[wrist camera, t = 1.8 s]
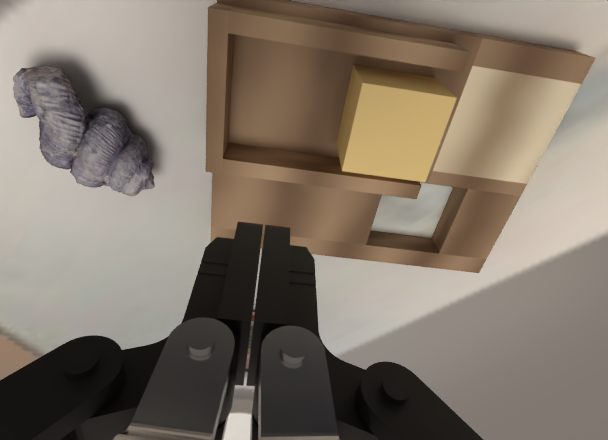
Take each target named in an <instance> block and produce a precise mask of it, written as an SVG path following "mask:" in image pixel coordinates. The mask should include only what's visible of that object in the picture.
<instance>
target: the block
mask: <svg viewBox="0 0 608 440" xmlns="http://www.w3.org/2000/svg"><path fill="white" fill-rule="evenodd" d="M456 99H457V97H455V96H454V95H453V94H452V93H451V92H450V91H449V90H448V89H447V88H445V87H444V86H443V85H442V84H441V83H440V82H439V81H438V80H436V79H435V78H433V77H427V76H421V75H415V74H408V73H402V72H396V71H390V70H384V69H378V68H372V67H365V66H359V65H353V68H352V73H351V78H350V82H349V87H348V92H347V96H346V101H345V105H344V110H343V115H342V119H341V124H340V129H339V133H338V138H337V143H336V144H337V149H338V154H339V159H340V164H341V169H342V171H345V172H352V173H360V174H367V175H374V176H382V177H389V178H396V179H404V180H411V181H419V182H426V179H427V177H428V174H429V171H430V169H431V166H432V163H433V161H434V158H435V155H436V153H437V150H438V147H439V145H440V142H441V139H442V137H443V134H444V131H445V129H446V126H447V123H448V121H449V118H450V115H451V113H452V110H453V107H454V105H455V102H456Z"/></svg>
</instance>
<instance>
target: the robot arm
mask: <svg viewBox="0 0 608 440" xmlns="http://www.w3.org/2000/svg"><path fill="white" fill-rule="evenodd" d="M262 230H263V224H255V223H247V222H238V223H237V227H236V232H235V236H234V239H231V238H222V237H216V238H215V239H214V240H213V241H212V242H211V243H210V244H209V245H208V246H207V247H206V248H205V251H204V255H203V258H202V261H201V264H200V268H199V271H198V275H197V277H196V280H195V284H194V287H193V290H192V293H191V296H190V300H189V303H188V306H187V309H186V312H185V316H184V319H183V321H182V323H181V324H180V325H178V326H177V327H176V328H175V329H174V330H173V331H172V332H171V333H170V335H169V336H168V337H167V338H165V339H163V340H161V341H159V342H157V343H154V344H150V345H146V346H141V347H136V348H130V349H125V350H121V348H120V346H119V345H118V344H117V343H116V342H115V341H113V340H111V339H109V338H107V337H103V336H84V337H80V338H76V339H74V340H71V341H69V342H67V343H65V344H63V345H61V346H59V347H58V348H56V349H54V350H52V351H51V352H49V353H47V354H45V355H44V356H42V357H40V358H38V359H37V360H35V361H33V362H32V363H30V364H28V365H26V366H25V367H23V368H21V369H19V370H18V371H16V372H14V373H13V374H11V375H9V376H7V377H6V378H4V379H2V380H0V440H223V439H224V434H225V430H226V425H227V421H228V415H229V413H230V411H231V408H232V403H233V396H234V389H235V385H241V386H243V385H244V377H245V369H246V361H247V353H248V345H249V337H250V329H251V321H252V313H253V305H254V297H255V288H256V280H257V272H258V264H259V255H260V247H261V238H262ZM246 386H255V387H254V397H253V407H252V414H251V426H250V440H483V439H482V438H481V437H480V436H479V435H478V434H477V433H476V432H475V431H474V430H472V428H470V427H469V426H468V425H467V424H466V423H465V422H464V421H463V420H462V419H461V418H460V417H459V416H458V415H457V414H456V413H455V412H454V411H452V409H450V407H448V406H447V405H446V404H445V403H444V402H443V401H442V400H441V399H440V398H439V397H438V396H437V395H436V394H435V393H434V392H433V391H432V390H431V389H430V388H428V387H427V386H426V385H425V384H424V383H423V382H422V381H421V380H420V379H419V378H418V377H417V376H416V375H415V374H414V373H412V372H411V371H410V370H408V369H407V368H405V367H403V366H401V365H399V364H396V363H392V362H378V363H375V364H373V365H371V366H369V367H368V368H367V369H366V370H364V369H362V368H359V367H357V366H354V365H352V364H349V363H346V362H344V361H342V360H340V359H339V358H337V357H335V356H334V355H333V354H332V353H330V352H329V351H328V350H327V348H326V347H325V346H324V344H323V343H322V341H321V339H320V336H319V331H318V315H317V297H316V280H315V263H314V258H313V257H312V255H311V253H310V252H309V250H308V249H307V247H302V246H294V245H290V227H281V226H273V225H265V232H264V240H263V248H262V257H261V265H260V273H259V281H258V290H257V298H256V307H255V315H254V324H253V332H252V341H251V349H250V358H249V366H248V375H247V384H246Z"/></svg>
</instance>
